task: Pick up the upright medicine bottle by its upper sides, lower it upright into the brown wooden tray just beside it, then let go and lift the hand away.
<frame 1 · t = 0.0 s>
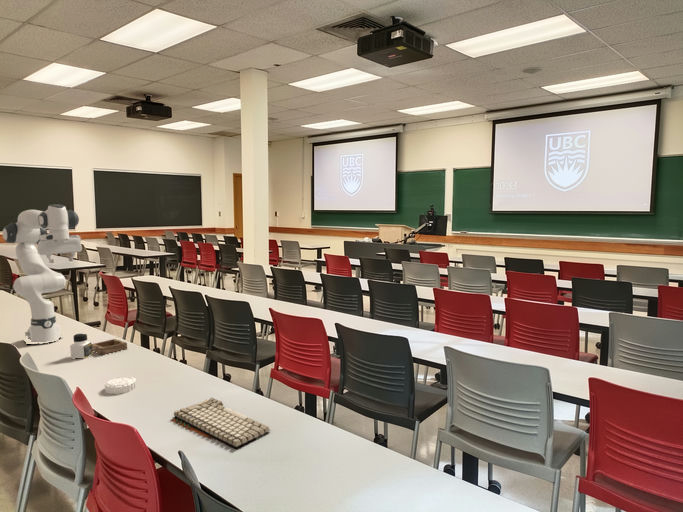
hand: (61, 262, 247), 48 cm above the table, tool pointing down, fingers open, 8 cm apart
mooncake: (121, 389, 199), on the table
mechanical keyboard: (221, 426, 166), on the table
brown wooden tray: (109, 350, 253), on the table
medicine bottle: (81, 357, 242), on the table
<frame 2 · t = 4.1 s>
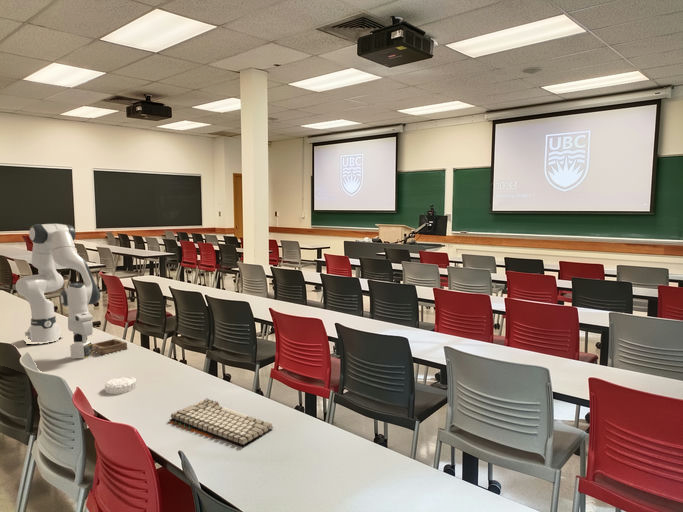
hand: (80, 341, 241), 8 cm above the table, tool pointing down, fingers closed on medicine bottle, 6 cm apart
medicine bottle: (81, 357, 242), on the table, touching gripper
when the fingers open (10 cm above the table, at t = 10.4 s): medicine bottle drops 1 cm, resting on brown wooden tray.
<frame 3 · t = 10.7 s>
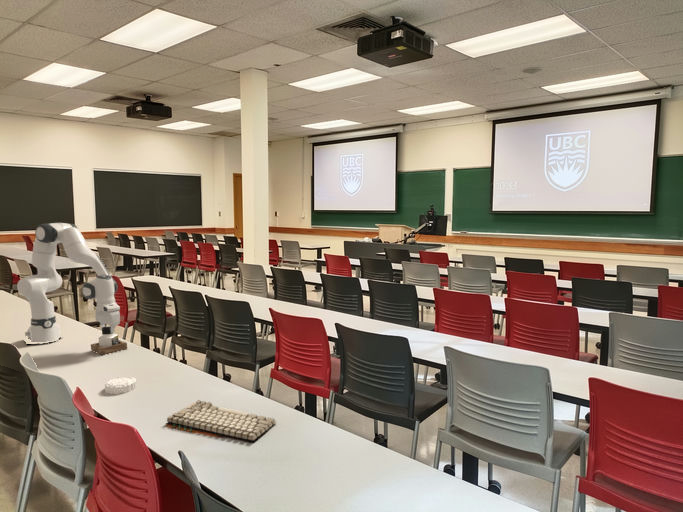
hand: (107, 331, 252), 10 cm above the table, tool pointing down, fingers open, 8 cm apart
medicine bottle: (109, 349, 253), resting on brown wooden tray
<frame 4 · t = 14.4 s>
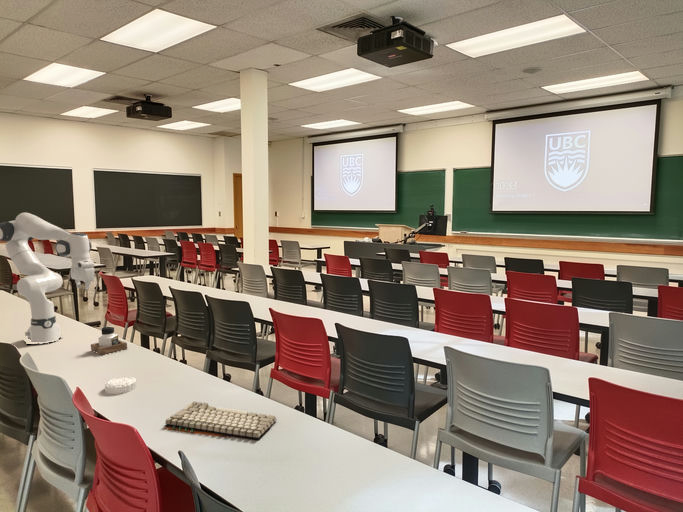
hand: (83, 288, 252), 33 cm above the table, tool pointing down, fingers open, 8 cm apart
at the end: medicine bottle 0.1 cm off-centre on the brown wooden tray, point 0.4 cm above the brown wooden tray's base; medicine bottle tilted 0°; the gripper is holding nothing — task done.
